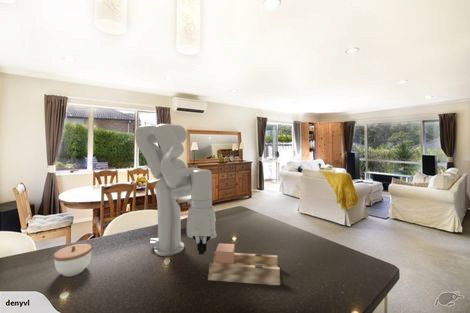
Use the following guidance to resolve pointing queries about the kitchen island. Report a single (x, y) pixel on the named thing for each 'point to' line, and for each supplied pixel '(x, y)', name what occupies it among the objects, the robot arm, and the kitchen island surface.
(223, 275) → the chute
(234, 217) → the kitchen island surface
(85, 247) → the lidded jar
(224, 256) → the block
